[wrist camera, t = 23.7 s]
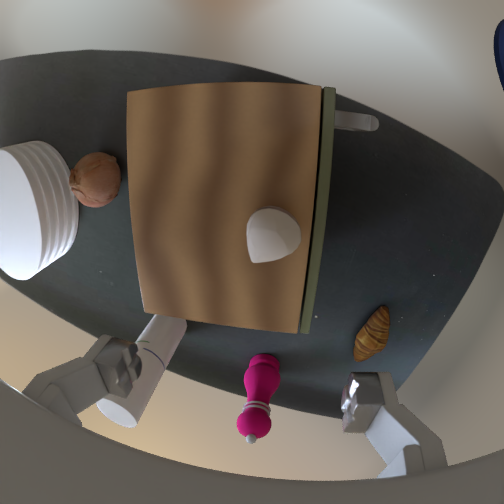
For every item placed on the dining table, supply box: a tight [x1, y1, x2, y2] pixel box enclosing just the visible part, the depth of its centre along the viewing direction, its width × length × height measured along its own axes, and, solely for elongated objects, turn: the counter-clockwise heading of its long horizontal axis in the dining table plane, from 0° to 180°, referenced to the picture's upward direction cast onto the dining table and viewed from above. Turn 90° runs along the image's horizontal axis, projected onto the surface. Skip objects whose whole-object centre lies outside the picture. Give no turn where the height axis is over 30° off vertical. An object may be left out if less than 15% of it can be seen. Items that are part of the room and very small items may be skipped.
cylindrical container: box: [96, 314, 187, 428], centre depth 47 cm, size 7×7×25 cm
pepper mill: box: [237, 354, 280, 443], centre depth 50 cm, size 7×7×20 cm
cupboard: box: [127, 82, 321, 333], centre depth 34 cm, size 16×22×22 cm
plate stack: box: [0, 141, 79, 280], centre depth 47 cm, size 28×28×12 cm
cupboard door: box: [300, 87, 379, 333], centre depth 33 cm, size 6×22×22 cm, turn 178°
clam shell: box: [246, 206, 301, 263], centre depth 23 cm, size 4×5×2 cm
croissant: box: [353, 306, 390, 362], centre depth 50 cm, size 14×7×5 cm, turn 168°
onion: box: [69, 152, 122, 207], centre depth 43 cm, size 10×9×10 cm
